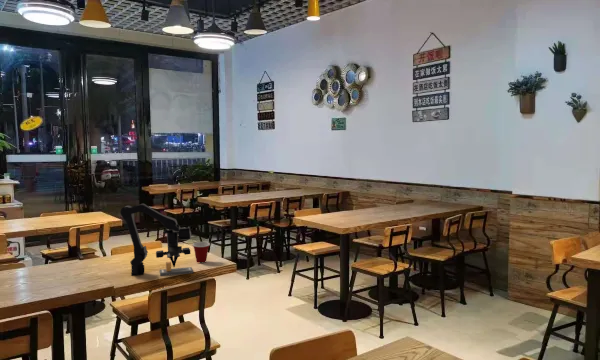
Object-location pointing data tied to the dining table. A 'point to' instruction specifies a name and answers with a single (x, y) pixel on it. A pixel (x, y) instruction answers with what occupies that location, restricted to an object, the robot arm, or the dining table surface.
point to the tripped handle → (168, 266)
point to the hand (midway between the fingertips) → (174, 267)
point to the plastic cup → (201, 251)
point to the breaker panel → (176, 271)
